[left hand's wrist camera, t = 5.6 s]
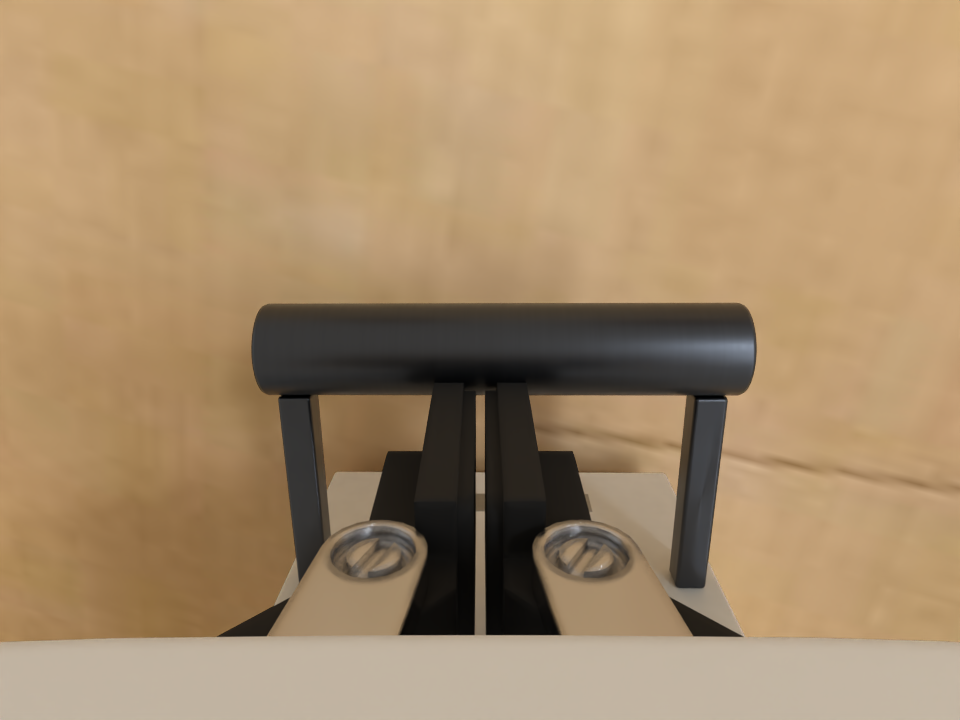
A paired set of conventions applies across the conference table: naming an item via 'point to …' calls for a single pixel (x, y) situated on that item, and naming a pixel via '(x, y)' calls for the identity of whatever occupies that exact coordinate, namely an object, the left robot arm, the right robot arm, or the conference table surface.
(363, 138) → the conference table surface
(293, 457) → the drawer
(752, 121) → the conference table surface
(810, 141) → the conference table surface
